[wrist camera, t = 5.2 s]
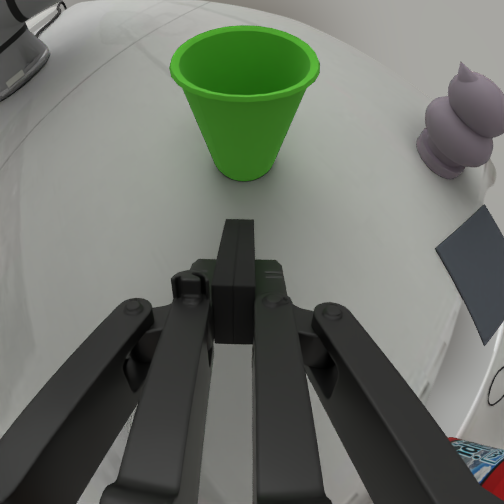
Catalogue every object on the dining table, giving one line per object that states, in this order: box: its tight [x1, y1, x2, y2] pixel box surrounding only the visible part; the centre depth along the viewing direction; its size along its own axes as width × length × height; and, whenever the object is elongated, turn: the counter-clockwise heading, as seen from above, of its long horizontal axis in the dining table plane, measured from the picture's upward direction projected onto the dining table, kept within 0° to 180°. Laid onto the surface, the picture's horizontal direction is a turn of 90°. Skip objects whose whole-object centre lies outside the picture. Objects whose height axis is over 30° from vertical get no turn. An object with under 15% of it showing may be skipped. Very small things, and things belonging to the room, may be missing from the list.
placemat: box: [435, 205, 504, 346], centre depth 22 cm, size 11×11×1 cm
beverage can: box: [448, 437, 504, 501], centre depth 10 cm, size 7×7×12 cm
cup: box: [169, 26, 320, 181], centre depth 19 cm, size 9×9×11 cm
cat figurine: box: [416, 62, 504, 179], centre depth 20 cm, size 8×8×12 cm
